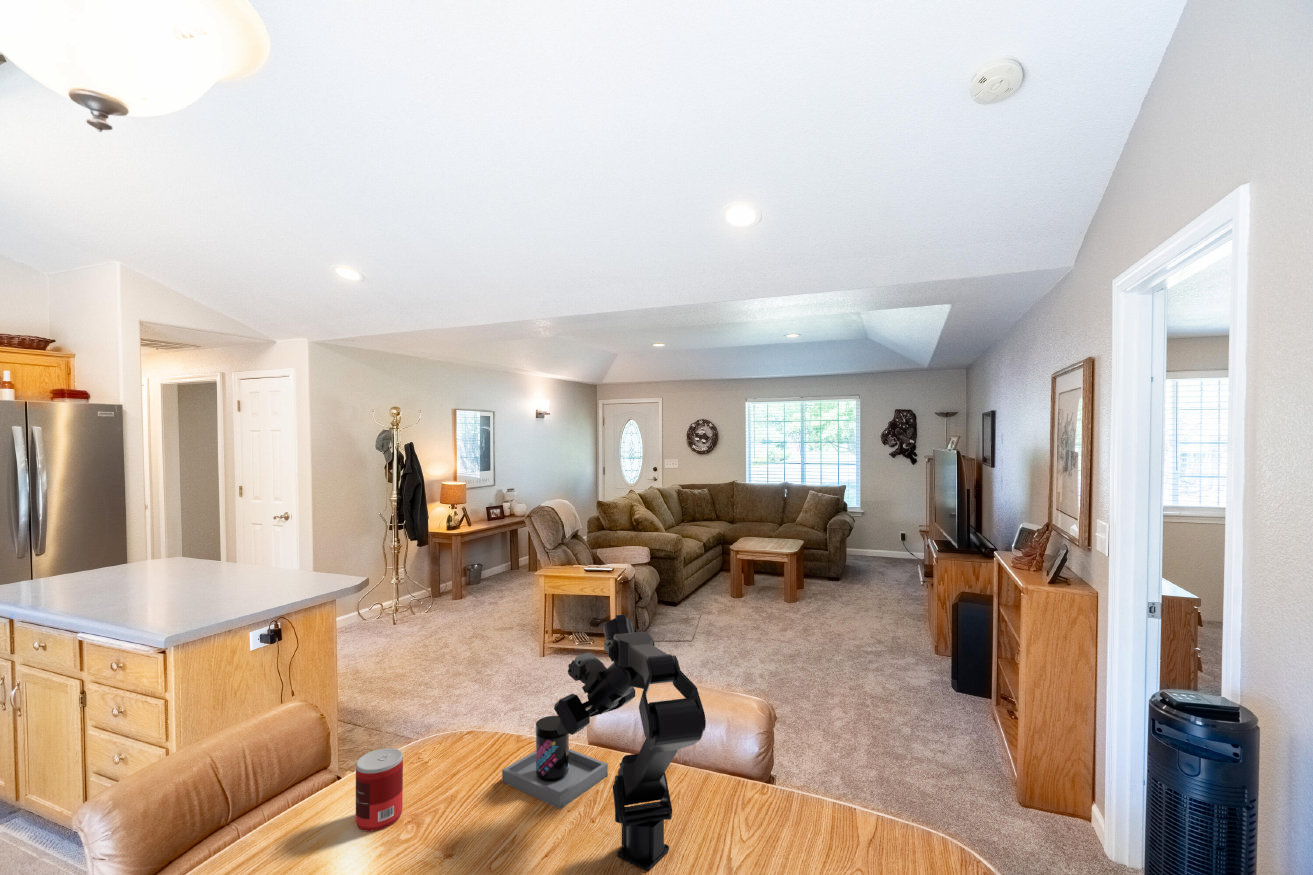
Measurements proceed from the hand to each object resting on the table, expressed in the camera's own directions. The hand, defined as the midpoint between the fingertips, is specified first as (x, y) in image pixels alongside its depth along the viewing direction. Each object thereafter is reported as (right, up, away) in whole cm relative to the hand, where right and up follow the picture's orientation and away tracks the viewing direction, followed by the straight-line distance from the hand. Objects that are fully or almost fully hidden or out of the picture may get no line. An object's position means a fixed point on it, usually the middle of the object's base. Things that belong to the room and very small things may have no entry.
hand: (574, 722), depth 122 cm
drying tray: (-4, -13, +3) cm, 14 cm away
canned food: (-34, -13, -10) cm, 38 cm away
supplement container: (-5, -12, +3) cm, 14 cm away
